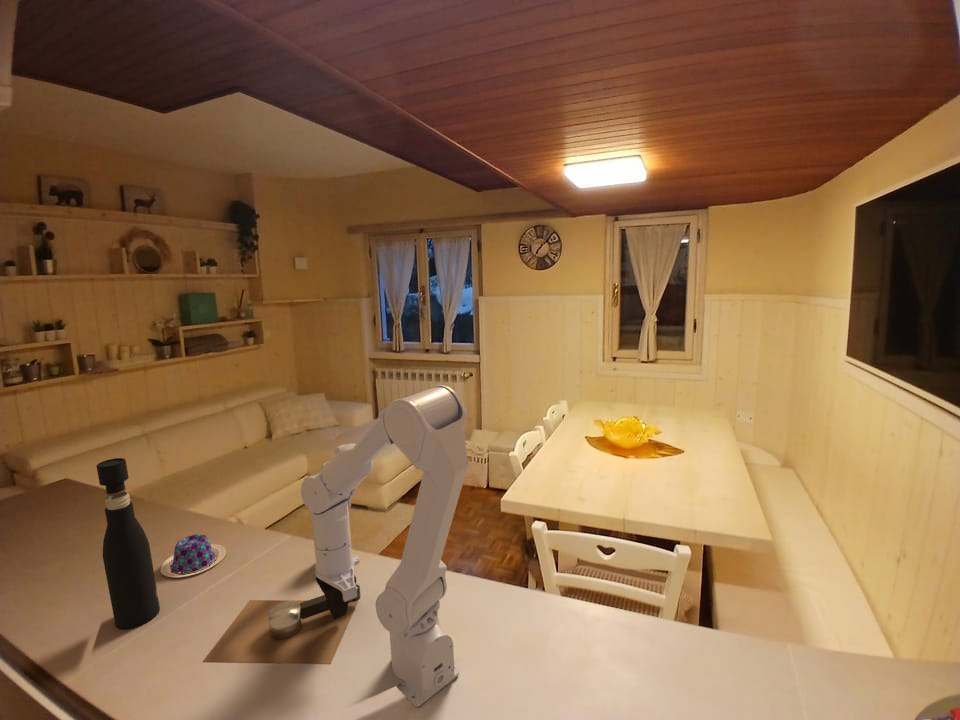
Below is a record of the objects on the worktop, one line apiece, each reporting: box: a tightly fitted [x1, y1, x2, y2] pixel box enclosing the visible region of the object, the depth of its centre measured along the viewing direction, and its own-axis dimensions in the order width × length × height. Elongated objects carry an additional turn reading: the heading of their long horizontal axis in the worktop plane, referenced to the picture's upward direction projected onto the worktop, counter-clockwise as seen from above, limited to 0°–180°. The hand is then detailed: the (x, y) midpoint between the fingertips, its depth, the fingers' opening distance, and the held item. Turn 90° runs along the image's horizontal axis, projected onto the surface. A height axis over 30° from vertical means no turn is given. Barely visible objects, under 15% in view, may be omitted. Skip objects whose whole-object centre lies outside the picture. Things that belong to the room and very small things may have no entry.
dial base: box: [202, 599, 359, 665], centre depth 80 cm, size 20×14×2 cm
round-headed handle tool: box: [268, 583, 361, 639], centre depth 82 cm, size 15×5×3 cm, turn 119°
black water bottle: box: [96, 457, 161, 631], centre depth 81 cm, size 6×6×30 cm
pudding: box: [160, 533, 226, 578], centre depth 102 cm, size 12×12×5 cm
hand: (339, 614), depth 81 cm, fingers closed
